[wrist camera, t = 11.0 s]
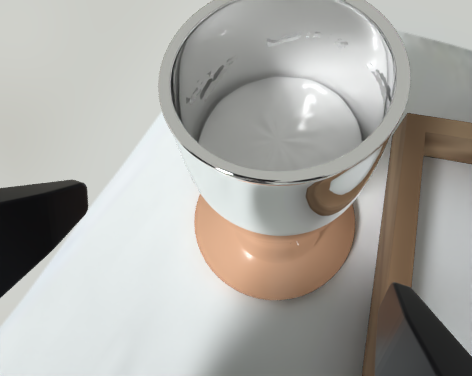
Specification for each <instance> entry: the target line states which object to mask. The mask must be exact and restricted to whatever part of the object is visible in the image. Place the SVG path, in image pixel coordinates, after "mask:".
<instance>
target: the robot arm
mask: <svg viewBox="0 0 472 376" xmlns="http://www.w3.org/2000/svg"><path fill="white" fill-rule="evenodd" d="M87 210H88V196H87V187H86V185H85V184H84V183H81V182H79V181H76V180H66V181H58V182H50V183H41V184H32V185H24V186H15V187H8V188H0V298H1V297H2V296H3V295H4V294H5V293H6V292H7V291H9V290H10V289H11V288H12V287H13V286H14V285H15V284H16V283H17V282H18V281H20V280H21V279H22V278H23V277H24V276H25V275H26V274H27V273H28V272H29V271H31V269H33V268H34V267H35V266H36V265H37V264H38V263H39V262H40V261H41V260H43V259H44V258H45V257H46V256H47V255H48V254H49V253H50V252H51V251H52V250H53V249H54V248H55V247H56V246H57V245H58V244H59V243H60V242H61V241H62V240H63V238H64V237H65V236H66V235H67V234H68V233H69V232H70V231H71V230H72V228H73V227H74V226H75V225H76V224H77V223H78V222H79V221H80V220H81V219H82V217H83V216H84V215H85V214H86V212H87ZM375 376H472V357H471V355H470V354H469V353H468V352H467V351H466V350H465V349H464V347H463V346H462V345H461V344H460V343H459V342H458V341H457V339H456V338H455V337H454V336H453V335H452V334H451V333H450V331H449V330H448V329H447V328H446V327H445V326H444V325H443V324H442V322H441V321H440V320H439V319H438V318H437V317H436V316H435V314H434V313H433V312H432V311H431V310H430V309H429V308H428V306H427V305H426V304H425V303H424V302H423V301H422V300H421V299H420V297H419V296H418V295H417V294H416V293H415V292H414V291H413V289H412V288H410V287H409V286H406V285H402V284H399V283H396V282H393V283H391V284H390V286H389V288H388V290H387V292H386V294H385V296H384V298H383V300H382V302H381V304H380V307H379V310H378V320H377V337H376V354H375Z"/></svg>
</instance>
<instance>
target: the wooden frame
mask: <svg viewBox="0 0 472 376" xmlns="http://www.w3.org/2000/svg"><path fill="white" fill-rule="evenodd" d="M423 156H428V157H434V158H440V159H445V160H451V161H457V162H463V163H468V164H472V123H470V122H463V121H457V120H450V119H443V118H437V117H430V116H424V115H417V114H411V113H407V115H406V116H405V118H404V119H403V121H402V122H401V124H400V125H399V127H398V128H397V130H396V131H395V133H394V134H393V136H392V143H391V151H390V159H389V167H388V175H387V182H386V190H385V198H384V206H383V214H382V221H381V229H380V237H379V245H378V253H377V260H376V268H375V276H374V284H373V292H372V299H371V307H370V315H369V323H368V331H367V338H366V346H365V354H364V362H363V370H362V376H375V354H376V337H377V320H378V310H379V307H380V304H381V302H382V300H383V298H384V296H385V294H386V292H387V290H388V288H389V286H390V284H391V283H393V282H396V283H399V284H402V285H406V286H409V287H410V288H411V286H412V275H413V264H414V253H415V242H416V231H417V221H418V210H419V199H420V188H421V177H422V166H423Z"/></svg>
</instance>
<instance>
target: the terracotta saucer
mask: <svg viewBox="0 0 472 376" xmlns="http://www.w3.org/2000/svg"><path fill="white" fill-rule="evenodd" d="M354 232H355V215H354V208H353V205H352V204H351V205H350V207H349V208H348V209H347V210H346V211H345V212H344V214H343V215H342V216H341V217H339V218H338V219H337V220H336V221H335V222H333V223H332V224H331V225H329V226H328V227H326V228H325V229H323V230H322V231H321V233H320V236H319V238H318V240H317V242H316V244H315V245H314V247H313V248H312V249H311V250H310V251H309V252H308V253H307V254H306V255H304V256H303V257H301V258H299V259H297V260H295V261H292V262H289V263H283V264H273V263H267V262H264V261H261V260H258V259H256V258H255V257H253V256H251V255H250V254H249V253H248V252H246V251H245V250H244V249H243V247H242V246H241V245H240V243H239V242H238V240H237V238H236V236H235V233H234V230H233V228H232V227H231V226H229V225H228V224H227V223H226V222H224V221H223V220H222V219H221V218H220V217H219V216H218V215H217V214H216V213H215V212H214V211H213V210H212V209H211V207H210V206H209V205H208V203H207V202H206V201H205V199H204V198H203V197H202V195H201V194H200V196H199V199H198V202H197V206H196V211H195V234H196V238H197V243H198V246H199V248H200V251H201V253H202V255H203V257H204V259H205V261H206V263H207V264H208V265H209V267H210V268H211V270H212V271H213V272H214V273H215V274H216V275H217V276H218V277H219V278H220V279H221V280H222V281H223V282H225V283H226V284H227V285H229V286H230V287H232V288H234V289H235V290H237V291H239V292H241V293H243V294H246V295H248V296H251V297H255V298H258V299H265V300H286V299H293V298H296V297H300V296H303V295H306V294H308V293H310V292H312V291H314V290H316V289H317V288H319V287H321V286H322V285H324V284H325V283H326V282H327V281H329V280H330V279H331V278H332V277H333V276H334V275H335V274H336V273H337V272H338V270H339V269H340V268H341V266H342V265H343V263H344V262H345V260H346V258H347V256H348V254H349V252H350V249H351V246H352V243H353V239H354Z"/></svg>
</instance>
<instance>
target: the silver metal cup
mask: <svg viewBox="0 0 472 376" xmlns="http://www.w3.org/2000/svg"><path fill="white" fill-rule="evenodd" d="M410 81H411V75H410V64H409V59H408V55H407V52H406V49H405V47H404V44H403V42H402V40H401V38H400V36H399V34H398V33H397V31H396V30H395V28H394V27H393V26H392V24H391V23H390V22H389V21H388V20H387V18H386V17H385V16H383V14H382V13H381V12H380V11H378V10H377V9H376V8H375V7H373V6H372V5H371V4H369V3H368V2H366V1H365V0H213V1H212V2H210V3H208V4H207V5H205V6H204V7H202V8H201V9H200V10H198V11H197V12H196V13H195V14H193V15H192V16H191V17H190V18H189V19H188V20H187V21H186V22H185V23H184V24H183V26H182V27H181V28H180V29H179V31H178V32H177V33H176V35H175V36H174V38H173V39H172V41H171V43H170V44H169V46H168V48H167V50H166V53H165V55H164V58H163V61H162V64H161V68H160V73H159V83H158V91H159V100H160V105H161V109H162V113H163V116H164V118H165V121H166V123H167V125H168V127H169V129H170V130H171V132H172V134H173V136H174V138H175V141H176V143H177V146H178V149H179V151H180V154H181V156H182V158H183V161H184V163H185V166H186V168H187V170H188V172H189V174H190V176H191V178H192V180H193V181H194V183H195V185H196V187H197V189H198V191H199V192H200V194H201V195H202V197H203V198H204V199H205V201H206V202H207V203H208V205H209V206H210V207H211V209H212V210H213V211H214V212H215V213H216V214H217V215H218V216H219V217H220V218H221V219H222V220H223V221H224V222H226V223H227V224H228V225H229V226H231V227H232V228H233V230H234V233H235V236H236V238H237V240H238V242H239V243H240V245H241V246H242V247H243V249H244V250H245V251H246V252H248V253H249V254H250V255H251V256H253V257H255V258H256V259H258V260H261V261H264V262H267V263H273V264H283V263H289V262H292V261H295V260H297V259H299V258H301V257H303V256H304V255H306V254H307V253H308V252H309V251H310V250H311V249H312V248H313V247H314V245H315V244H316V242H317V240H318V238H319V236H320V233H321V231H322V230H323V229H325V228H326V227H328V226H329V225H331V224H332V223H333V222H335V221H336V220H337V219H338V218H339V217H341V216H342V215H343V214H344V212H345V211H346V210H347V209H348V208H349V207H350V205H351V204H352V203H353V202H354V201H355V199H356V198H357V197H358V196H359V194H360V193H361V191H362V190H363V188H364V186H365V185H366V183H367V181H368V180H369V178H370V177H371V175H372V173H373V171H374V169H375V167H376V165H377V163H378V161H379V159H380V157H381V155H382V153H383V151H384V149H385V146H386V144H387V142H388V140H389V137H390V135H391V133H392V131H393V130H394V129H395V127H396V125H397V124H398V122H399V120H400V118H401V116H402V114H403V112H404V109H405V107H406V104H407V100H408V96H409V91H410Z"/></svg>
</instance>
